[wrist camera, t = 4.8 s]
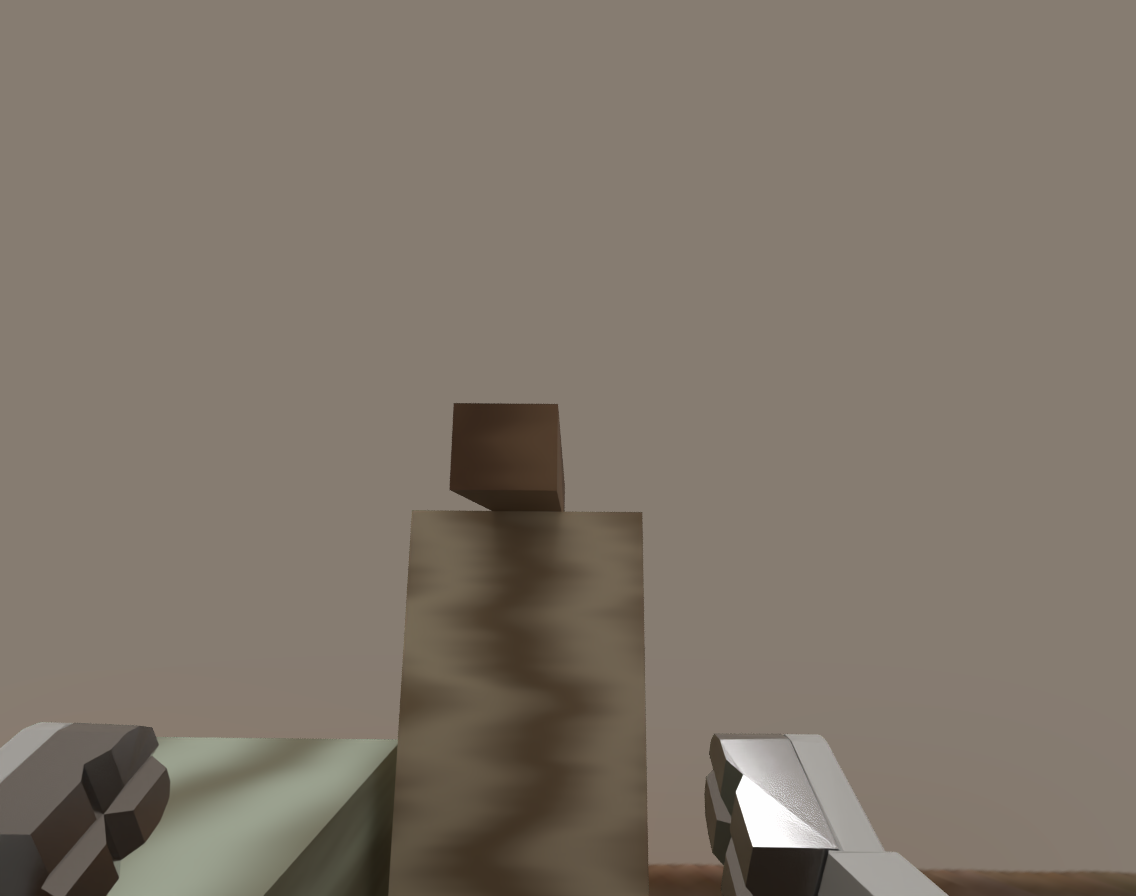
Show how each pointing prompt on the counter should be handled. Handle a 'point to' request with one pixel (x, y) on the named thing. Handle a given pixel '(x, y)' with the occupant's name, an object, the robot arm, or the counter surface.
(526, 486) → the walnut bar
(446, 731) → the two step stand
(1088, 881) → the counter surface
